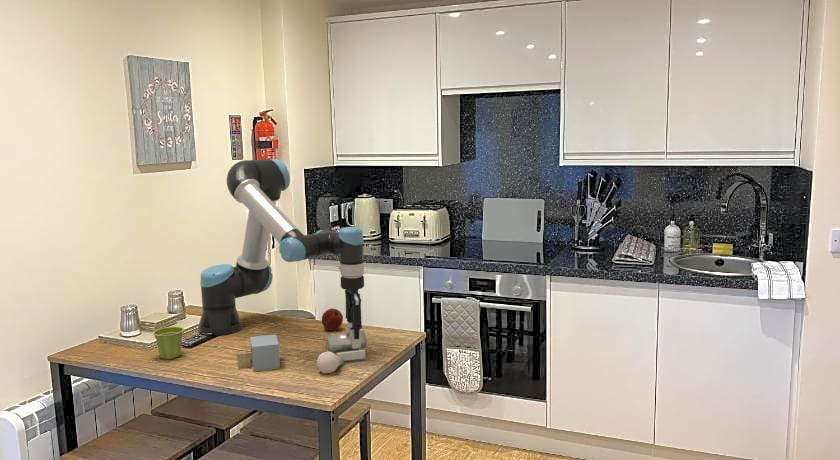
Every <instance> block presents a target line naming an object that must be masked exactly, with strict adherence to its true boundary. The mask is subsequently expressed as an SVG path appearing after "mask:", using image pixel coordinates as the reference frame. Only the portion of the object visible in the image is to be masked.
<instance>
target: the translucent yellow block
mask: <svg viewBox="0 0 840 460" xmlns="http://www.w3.org/2000/svg"><path fill="white" fill-rule="evenodd" d="M236 357H237V358H236V360H237V368H238V370H241V369H248V368H253V359H252V353H251V352H248V353H240V354H236Z"/></svg>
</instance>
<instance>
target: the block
mask: <svg viewBox="0 0 840 460" xmlns="http://www.w3.org/2000/svg"><path fill="white" fill-rule="evenodd" d="M249 340H250V353H252V359H253V367H252V371H253V372H260V371H262V372H263V371H269V370H270V371H272V370H278V369H281V364H280V363H281V361H280V360H281V359H280V343H279V340H278V338H277V334H266V335H265V334H264V335H257V336H250V337H249Z"/></svg>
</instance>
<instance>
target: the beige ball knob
mask: <svg viewBox="0 0 840 460" xmlns="http://www.w3.org/2000/svg"><path fill="white" fill-rule="evenodd" d="M316 359H317V360H316V366H317V369H318V370H319V371H320V372H321V373H323V374H332V373H334V372H335V371H336V370H337V369H338V367H341V366H343V364H344V363H343V362H344V361H343V358H342V357H338V356H336V355H335V354H334V353H332V352H328V350H327V351H324V352H322V353H320V354H319V356H318V357H317V358H316Z"/></svg>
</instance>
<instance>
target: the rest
mask: <svg viewBox="0 0 840 460" xmlns="http://www.w3.org/2000/svg"><path fill="white" fill-rule="evenodd" d="M332 353H334V354H335V355H336V356H338V357H342V358H343V361H344V362H343V364H348V363H356V362H364V360H365V361H366V350H365V349H361V348H360V349H353V350H346V351H339V352H332Z"/></svg>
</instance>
